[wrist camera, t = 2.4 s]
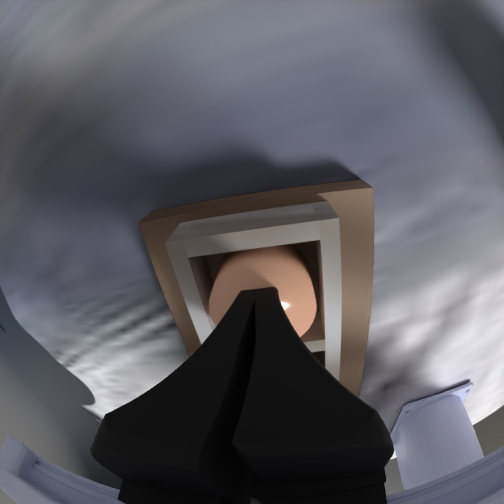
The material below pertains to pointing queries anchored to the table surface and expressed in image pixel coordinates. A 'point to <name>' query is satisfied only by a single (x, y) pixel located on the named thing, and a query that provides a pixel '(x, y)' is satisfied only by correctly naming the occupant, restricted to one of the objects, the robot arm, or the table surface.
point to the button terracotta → (266, 282)
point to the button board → (272, 234)
